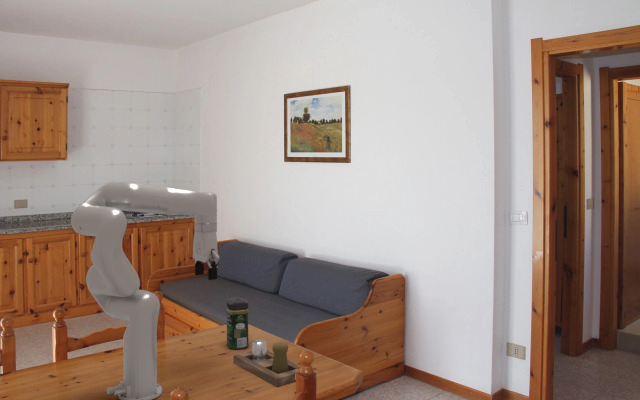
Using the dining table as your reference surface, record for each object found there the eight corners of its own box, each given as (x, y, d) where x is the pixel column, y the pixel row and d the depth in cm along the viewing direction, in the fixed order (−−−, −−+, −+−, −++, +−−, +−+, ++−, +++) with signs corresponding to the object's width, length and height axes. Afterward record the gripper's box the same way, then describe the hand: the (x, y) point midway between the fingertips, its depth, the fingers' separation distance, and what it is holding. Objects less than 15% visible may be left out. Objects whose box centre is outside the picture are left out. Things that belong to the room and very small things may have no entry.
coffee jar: (224, 342, 213) (224, 295, 212) (244, 340, 216) (245, 294, 215) (229, 350, 204) (229, 301, 203) (250, 348, 207) (250, 300, 205)
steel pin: (257, 367, 187) (257, 344, 187) (249, 363, 191) (249, 341, 191) (269, 364, 190) (269, 342, 190) (261, 360, 194) (261, 338, 194)
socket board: (276, 386, 171) (276, 378, 171) (233, 362, 192) (233, 355, 192) (308, 377, 179) (308, 369, 179) (263, 355, 200) (263, 348, 200)
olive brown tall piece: (286, 379, 177) (286, 346, 176) (268, 378, 178) (268, 345, 178) (291, 373, 183) (291, 340, 182) (274, 371, 184) (274, 339, 184)
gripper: (184, 226, 193) (184, 274, 194) (207, 231, 179) (207, 282, 181) (203, 225, 198) (204, 272, 199) (228, 229, 184) (227, 280, 185)
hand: (205, 277), depth 190 cm, fingers open, 9 cm apart
